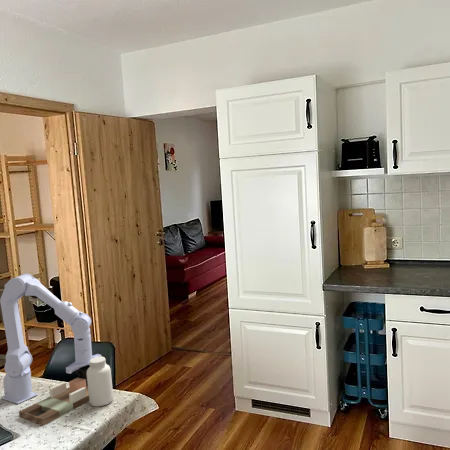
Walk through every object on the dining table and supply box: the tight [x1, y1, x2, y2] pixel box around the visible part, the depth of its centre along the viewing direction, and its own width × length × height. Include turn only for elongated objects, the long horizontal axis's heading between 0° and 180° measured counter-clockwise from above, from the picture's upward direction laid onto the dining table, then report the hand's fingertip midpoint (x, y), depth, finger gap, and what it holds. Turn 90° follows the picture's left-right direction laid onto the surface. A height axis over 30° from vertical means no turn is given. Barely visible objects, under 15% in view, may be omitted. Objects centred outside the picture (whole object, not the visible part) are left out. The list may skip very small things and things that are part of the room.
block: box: [68, 377, 87, 393], centre depth 156 cm, size 4×4×4 cm
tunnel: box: [49, 381, 86, 404], centre depth 153 cm, size 11×6×3 cm, turn 59°
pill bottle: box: [87, 356, 114, 407], centre depth 151 cm, size 8×8×15 cm
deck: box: [18, 386, 90, 427], centre depth 151 cm, size 12×24×2 cm, turn 149°
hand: (85, 385), depth 159 cm, fingers closed
